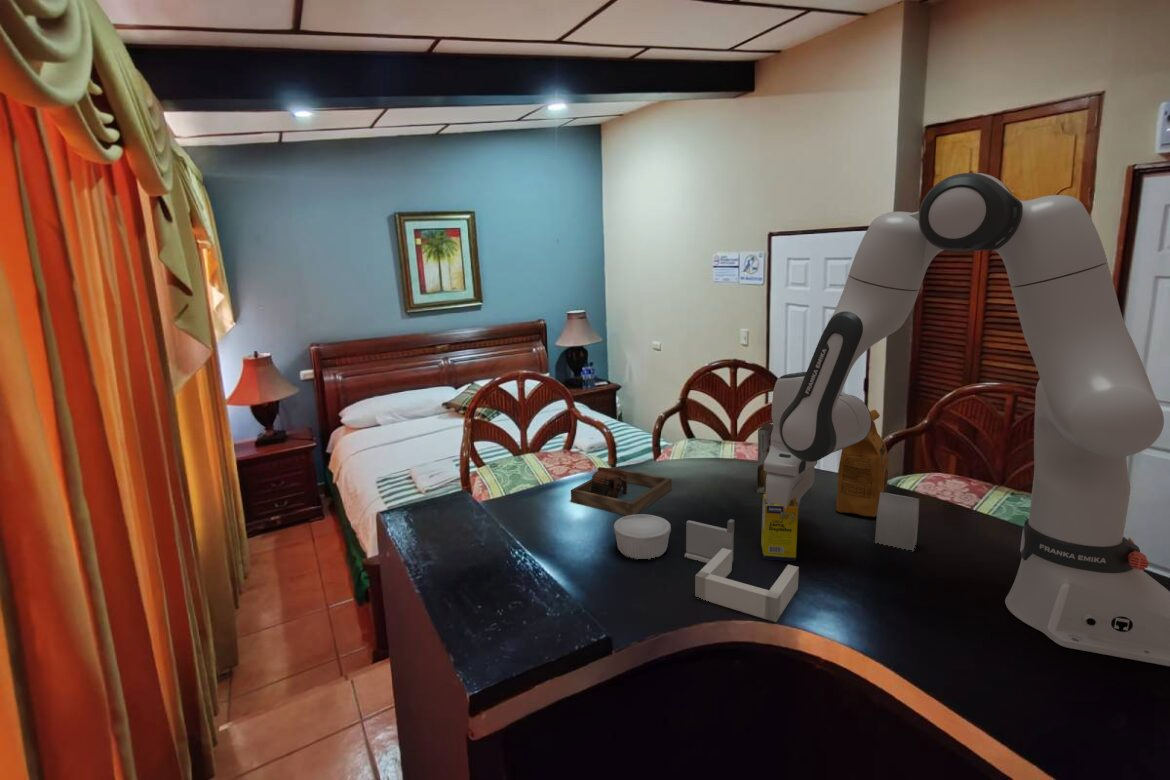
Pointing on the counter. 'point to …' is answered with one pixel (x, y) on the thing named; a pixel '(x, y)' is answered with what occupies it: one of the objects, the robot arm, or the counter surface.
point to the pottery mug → (615, 482)
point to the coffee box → (763, 455)
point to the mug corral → (621, 506)
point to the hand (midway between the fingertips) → (790, 519)
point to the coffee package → (863, 474)
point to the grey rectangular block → (897, 521)
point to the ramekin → (642, 536)
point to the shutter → (708, 538)
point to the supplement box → (779, 531)
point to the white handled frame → (743, 587)
